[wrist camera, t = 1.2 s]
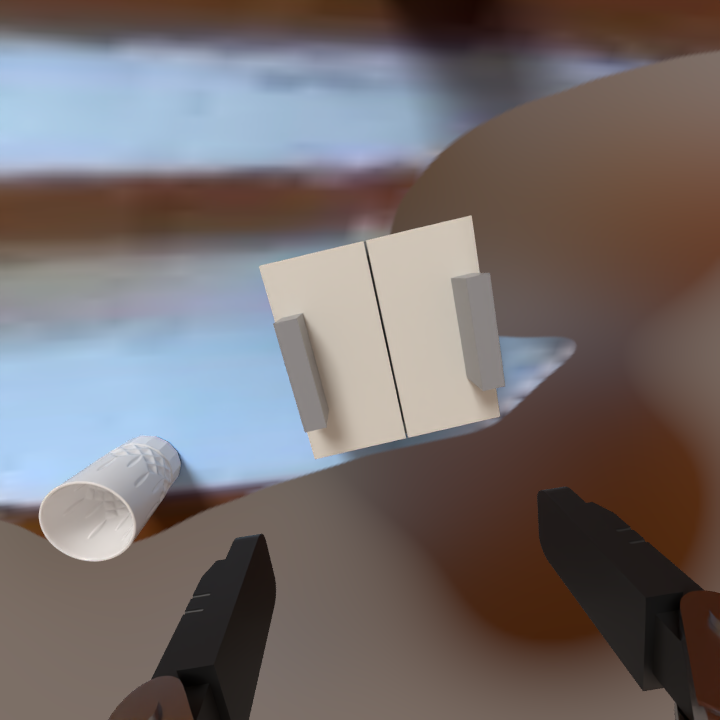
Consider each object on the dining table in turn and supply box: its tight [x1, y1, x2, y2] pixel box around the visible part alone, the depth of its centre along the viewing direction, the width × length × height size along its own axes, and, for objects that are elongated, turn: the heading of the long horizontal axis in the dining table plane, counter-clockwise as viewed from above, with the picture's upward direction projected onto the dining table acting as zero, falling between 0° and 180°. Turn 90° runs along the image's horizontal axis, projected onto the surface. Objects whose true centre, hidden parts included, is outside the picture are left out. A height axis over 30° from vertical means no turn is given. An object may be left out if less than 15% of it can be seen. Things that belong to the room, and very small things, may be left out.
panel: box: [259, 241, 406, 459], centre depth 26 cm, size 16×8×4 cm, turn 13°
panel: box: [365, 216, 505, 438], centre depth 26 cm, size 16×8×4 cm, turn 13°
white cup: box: [39, 435, 181, 561], centre depth 35 cm, size 8×8×10 cm
